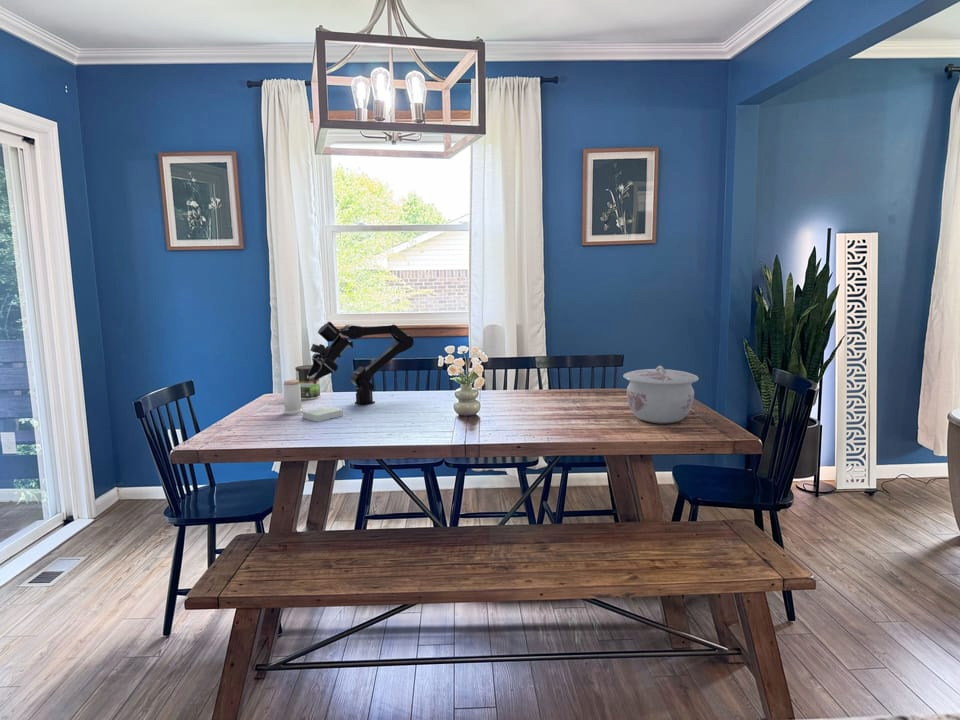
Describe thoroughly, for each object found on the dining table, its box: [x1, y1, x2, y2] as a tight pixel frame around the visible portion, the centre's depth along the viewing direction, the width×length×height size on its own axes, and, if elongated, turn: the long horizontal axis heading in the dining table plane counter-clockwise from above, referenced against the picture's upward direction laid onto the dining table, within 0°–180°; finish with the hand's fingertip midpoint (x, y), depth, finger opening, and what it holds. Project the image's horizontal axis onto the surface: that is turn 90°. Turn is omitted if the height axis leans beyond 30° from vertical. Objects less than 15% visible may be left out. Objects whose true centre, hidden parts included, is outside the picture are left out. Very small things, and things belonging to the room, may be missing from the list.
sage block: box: [301, 405, 344, 422], centre depth 252 cm, size 12×10×2 cm
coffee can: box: [294, 364, 321, 401], centre depth 288 cm, size 10×10×14 cm
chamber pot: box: [622, 365, 699, 425], centre depth 239 cm, size 28×28×21 cm
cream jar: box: [282, 379, 304, 415], centre depth 259 cm, size 7×7×13 cm
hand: (311, 377), depth 262 cm, fingers open, 9 cm apart
